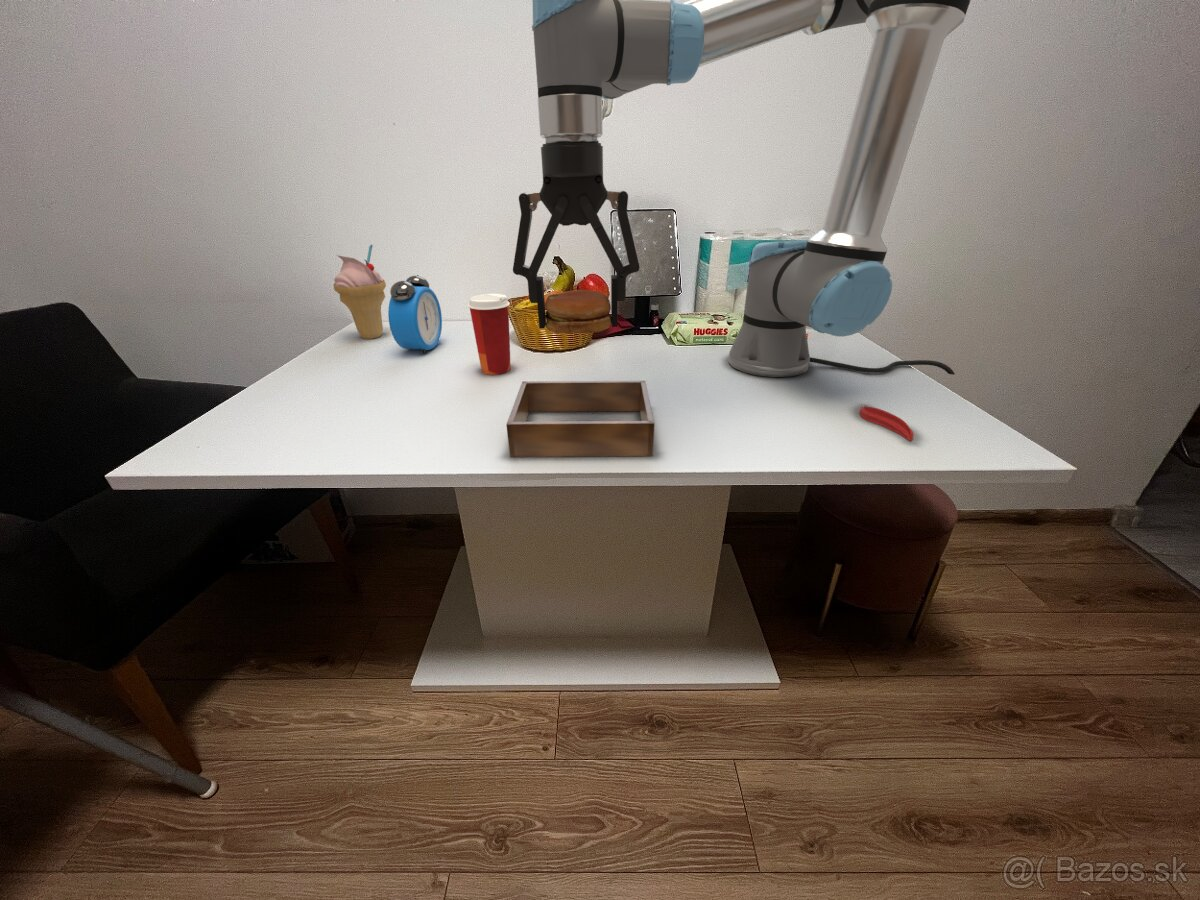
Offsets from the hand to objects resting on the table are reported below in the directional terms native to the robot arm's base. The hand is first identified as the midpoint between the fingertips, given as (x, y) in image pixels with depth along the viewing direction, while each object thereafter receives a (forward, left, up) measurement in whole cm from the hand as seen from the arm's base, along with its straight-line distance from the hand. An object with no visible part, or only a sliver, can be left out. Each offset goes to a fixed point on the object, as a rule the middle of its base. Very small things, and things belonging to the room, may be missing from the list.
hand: (578, 325), depth 72 cm
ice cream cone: (+52, -47, -15) cm, 72 cm away
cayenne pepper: (-46, +2, -15) cm, 49 cm away
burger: (0, 0, 0) cm, 0 cm away
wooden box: (0, +4, -15) cm, 16 cm away
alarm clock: (+37, -37, -15) cm, 55 cm away
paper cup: (+18, -23, -15) cm, 33 cm away
